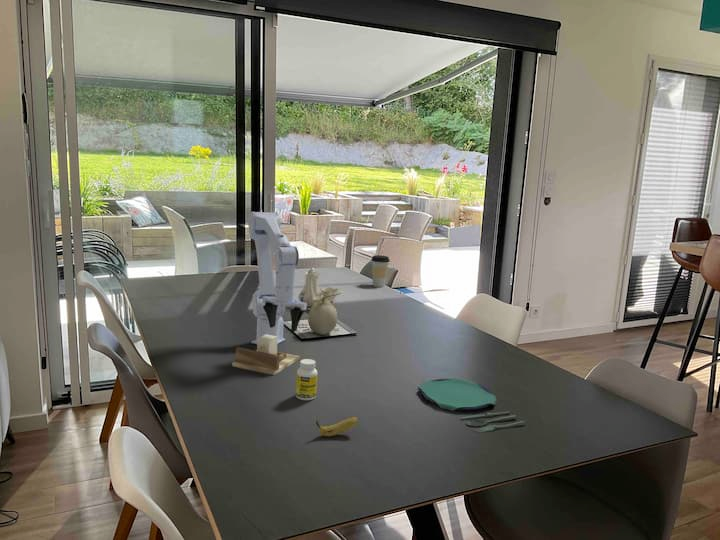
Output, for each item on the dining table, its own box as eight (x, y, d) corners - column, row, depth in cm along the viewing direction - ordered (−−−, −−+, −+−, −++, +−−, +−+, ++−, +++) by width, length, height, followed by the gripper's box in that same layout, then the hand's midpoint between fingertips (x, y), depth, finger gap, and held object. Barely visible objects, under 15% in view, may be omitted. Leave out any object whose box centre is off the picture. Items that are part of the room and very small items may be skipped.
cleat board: (260, 351, 188) (261, 336, 187) (299, 359, 183) (300, 343, 182) (232, 366, 173) (232, 350, 172) (273, 375, 168) (274, 358, 167)
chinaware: (333, 318, 239) (339, 278, 236) (292, 311, 238) (298, 271, 235) (337, 302, 266) (343, 266, 263) (300, 296, 266) (306, 260, 263)
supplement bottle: (297, 401, 152) (299, 365, 150) (294, 393, 157) (295, 358, 155) (318, 400, 153) (320, 364, 151) (314, 392, 158) (315, 357, 156)
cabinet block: (265, 356, 181) (266, 334, 180) (276, 358, 179) (277, 336, 178) (255, 361, 176) (256, 339, 174) (266, 364, 174) (267, 341, 173)
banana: (355, 430, 137) (356, 414, 136) (358, 435, 135) (359, 419, 134) (313, 434, 134) (314, 418, 133) (316, 439, 132) (317, 423, 131)
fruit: (300, 334, 208) (302, 293, 205) (317, 327, 218) (319, 288, 215) (325, 340, 203) (327, 298, 201) (341, 333, 213) (344, 292, 211)
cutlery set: (467, 381, 173) (468, 374, 173) (532, 427, 146) (533, 419, 146) (407, 388, 166) (408, 380, 166) (463, 438, 139) (464, 429, 138)
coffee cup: (367, 283, 302) (368, 254, 299) (384, 283, 305) (386, 255, 302) (372, 287, 293) (374, 258, 290) (390, 287, 296) (392, 258, 293)
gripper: (257, 284, 178) (256, 328, 181) (299, 291, 173) (297, 336, 175) (269, 281, 185) (268, 322, 187) (310, 287, 179) (308, 330, 182)
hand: (283, 328), depth 182 cm, fingers open, 7 cm apart
